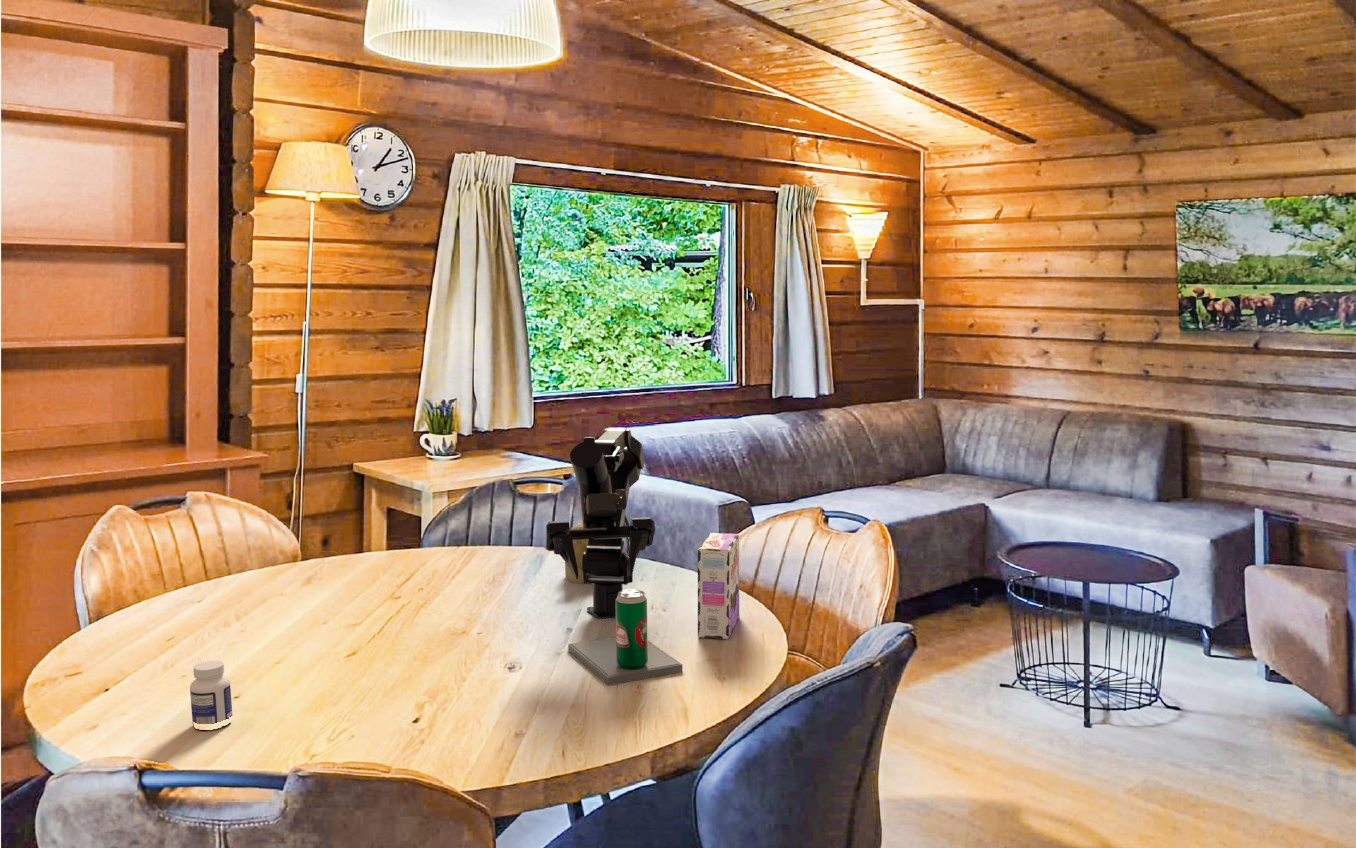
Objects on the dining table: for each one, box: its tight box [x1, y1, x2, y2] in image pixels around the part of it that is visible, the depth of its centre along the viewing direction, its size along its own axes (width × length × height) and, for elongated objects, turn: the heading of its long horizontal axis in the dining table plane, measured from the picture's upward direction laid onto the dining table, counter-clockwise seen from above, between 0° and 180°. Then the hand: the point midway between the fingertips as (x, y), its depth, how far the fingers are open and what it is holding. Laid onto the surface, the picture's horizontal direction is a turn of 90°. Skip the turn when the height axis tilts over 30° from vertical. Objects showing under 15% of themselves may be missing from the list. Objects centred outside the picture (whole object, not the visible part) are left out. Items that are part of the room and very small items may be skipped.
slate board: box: [567, 635, 683, 686], centre depth 175 cm, size 18×13×1 cm
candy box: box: [697, 532, 740, 640], centre depth 192 cm, size 14×6×16 cm, turn 168°
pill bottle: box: [189, 659, 233, 724], centre depth 150 cm, size 5×5×9 cm
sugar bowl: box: [564, 521, 589, 584], centre depth 225 cm, size 15×11×15 cm
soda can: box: [615, 589, 649, 669], centre depth 169 cm, size 5×5×12 cm
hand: (604, 576), depth 177 cm, fingers open, 9 cm apart
